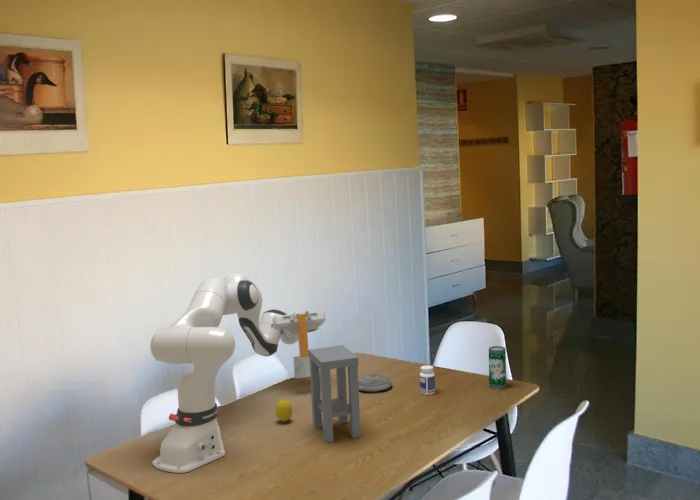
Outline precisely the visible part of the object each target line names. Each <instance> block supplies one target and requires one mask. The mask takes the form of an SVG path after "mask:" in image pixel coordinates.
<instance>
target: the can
mask: <svg viewBox="0 0 700 500" xmlns="http://www.w3.org/2000/svg"><path fill="white" fill-rule="evenodd" d="M506 350H507V349H506V347H504V346H501V345H493V346H490V347H488V386H489V387H488V388H489V389H492V390H498V391H499V390H505V389H506V388H507V363H506V362H507V354H506V353H507V351H506Z"/></svg>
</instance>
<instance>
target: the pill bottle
mask: <svg viewBox="0 0 700 500" xmlns="http://www.w3.org/2000/svg"><path fill="white" fill-rule="evenodd" d="M419 391H420V393H421V394H422V395H425V396H430V395H434V394H435V393H436V374H435V372H434V366H432V365H429V364H427V365H422V366H420V372H419Z"/></svg>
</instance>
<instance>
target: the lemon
mask: <svg viewBox="0 0 700 500" xmlns="http://www.w3.org/2000/svg"><path fill="white" fill-rule="evenodd" d="M275 414H276V417H277V419H279V420H280V421H282V422H284V423H285V422H286V421H288V420H289V419H291V417H292V414H293V407H292V404H291V402H290V401H289V400H288V399H285V398H282V399H280V400H279V401H278V402H277V404H276V407H275Z"/></svg>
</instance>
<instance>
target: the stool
mask: <svg viewBox="0 0 700 500" xmlns="http://www.w3.org/2000/svg"><path fill="white" fill-rule="evenodd" d="M308 357H309V358H310V377H309V378H310V392H311V393H310V395H311V396H310V397H311V414H312V415H311V416H312V426H313V427H314V429H318V428H322V430H323V431H322V432H323V433H322V434H323V441H324V442H325V443H326V444H327V443H334V429H333V428H334V427H333V426H334V424H333V423H334V421H333V418H337V417H338V423H340V424H347V423H349V429H350V431H349V432H350V437H351V438H352V439H356V438H361V416H360V415H361V414H360V390H359V387H358V378H359V367H358V366H359V362H360V361H359V356H357V355H356V354H354V353H353V352H352V351H351V350H350V349H349V348H347V347H346V346H344V345H343V344H342V345H334V346H333V345H332V346H326V347H319V348H318V347H317V348H311V349H308ZM346 368H347V370H346ZM331 370H336V371H335V372H336V373H335V374H336V390H337V391H336V392H337V393H336V394H337V396H336V398H332V381H331ZM346 371H347V372H346ZM346 373H347V374H346ZM347 383H348V395H347ZM347 397H348V398H347ZM348 401H349V402H348ZM348 417H349V418H348Z"/></svg>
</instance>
